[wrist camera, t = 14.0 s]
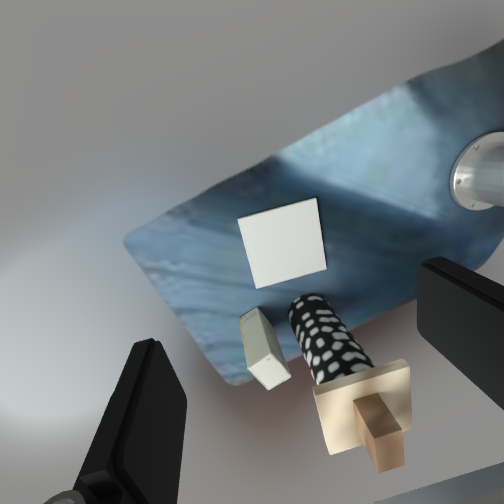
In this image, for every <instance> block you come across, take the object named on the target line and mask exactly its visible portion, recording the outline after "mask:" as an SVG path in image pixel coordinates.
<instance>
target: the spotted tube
mask: <svg viewBox="0 0 504 504" xmlns="http://www.w3.org/2000/svg"><path fill="white" fill-rule="evenodd" d="M288 320H289V322H290V325H291V327H292V329H293V332H294V334H295V336H296V339H297V341H298V343H299V346H300V348H301V350H302V353H303V355H304V357H305V359H306V361H307V364H308V366H309V369H310V371H311V373H312V376H313V378H314V380H315V383H316V385H319V384H323V383H326V382H329V381H332V380H335V379H338V378H342V377H345V376H348V375H351V374H354V373H358V372H361V371H364V370H367V369H370V368H373V367H376V366H375V365H374V363H373V362H372V361H371V360H370V358H369V357H368V355H367V354H366V353H365V351H364V350H363V349H362V348H361V346H360V345H359V343H358V342H357V341H356V339H355V338H354V336H353V335H352V334H351V332H350V331H349V330H348V328H347V327H346V326H345V324H344V323H343V322H342V320H341V319H340V318H339V316H338V315H337V313H336V312H335V311H334V309H333V308H332V307H331V305H330V304H329V303H328V301H327V300H326V299H325V298H324V297H323V296H321V295H318V294H305V295H303V296H300V297H299V298H297V299H296V300H295V301H294V302H293V303H292V304H291V305H290V307H289V310H288Z"/></svg>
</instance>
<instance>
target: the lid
mask: <svg viewBox="0 0 504 504" xmlns="http://www.w3.org/2000/svg"><path fill="white" fill-rule="evenodd" d="M312 389H313V393H314V397H315V401H316V405H317V409H318V413H319V417H320V421H321V425H322V429H323V433H324V437H325V441H326V446H327V448H328V451H329V453H330V455H332V454H335V453H339V452H342V451H345V450H348V449H351V448H354V447H357V446H360V445H363V444H364V446H365V448H366V450H367V452H368V454H369V456H370V458H371V460H372V462H373V463H374V466H375V468H376V470H377V472H378V473H381V472H384V471H387V470H390V469H393V468H397V467H400V466H403V465H404V464H405V462H404V448H403V432H404V431H407V430H410V429H412V410H411V388H410V366H409V365H408V364H407V363H406V362H405V360H404V359H403V358H402V359H399V360H396V361H393V362H390V363H386V364H383V365H380V366H377V367H373V368H370V369H367V370H364V371H361V372H358V373H354V374H351V375H348V376H345V377H342V378H338V379H335V380H332V381H329V382H326V383H323V384H319V385H316V386H313V387H312Z"/></svg>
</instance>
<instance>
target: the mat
mask: <svg viewBox="0 0 504 504" xmlns="http://www.w3.org/2000/svg"><path fill="white" fill-rule="evenodd" d="M238 223H239V227H240V230H241V234H242V238H243V241H244V245H245V249H246V252H247V256H248V260H249V263H250V267H251V271H252V274H253V278H254V282H255V286H256V289H257V288H261V287H264V286H268V285H271V284H275V283H279V282H282V281H286V280H289V279H293V278H296V277H300V276H303V275H307V274H310V273H314V272H318V271H321V270H325V269H326V262H325V255H324V248H323V242H322V235H321V228H320V221H319V214H318V208H317V201H316V198H311V199H308V200H304V201H300V202H297V203H293V204H289V205H286V206H282V207H278V208H275V209H271V210H267V211H264V212H260V213H256V214H253V215H249V216H245V217H242V218H238Z"/></svg>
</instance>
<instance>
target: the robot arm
mask: <svg viewBox="0 0 504 504" xmlns="http://www.w3.org/2000/svg"><path fill="white" fill-rule="evenodd" d="M450 191H451V194H452V197H453V199H454V200H455V202H456V203H457V204H458V205H459V206H461V207H463V208H466V209H470V210H484V209H487V208H490V207H492V206H494V205H497V206H502V207H504V132H492V133H488V134H485V135H482V136H480V137H478V138H477V139H475V140H474V141H472V142H471V143H470V144H469V145H468V146H467V147H466V148H465V149H464V150H463V151H462V153H461V154H460V155H459V157H458V159H457V160H456V162H455V164H454V167H453V169H452V173H451V176H450ZM417 328H418V331H419V333H420V334H421V336H422V337H423V338H424V339H426V340H427V341H428V342H429V343H430V344H431V345H432V346H433V347H434V348H435V349H437V350H438V351H439V352H440V353H441V354H442V355H443V356H444V357H445V358H447V359H448V360H449V361H450V362H451V363H452V364H453V365H454V366H455V367H456V368H458V369H459V370H460V371H461V372H462V373H463V374H464V375H465V376H466V377H468V378H469V379H470V380H471V381H472V382H473V383H474V384H475V385H476V386H478V387H479V388H480V389H481V390H482V391H483V392H484V393H485V394H486V395H488V397H490V398H491V399H492V400H493V401H494V402H495V403H496V404H497V405H498V406H500V407H501V408H502V409H503V410H504V286H503V285H501V284H499V283H496V282H494V281H492V280H490V279H488V278H486V277H484V276H482V275H480V274H477V273H476V272H473V271H471V270H469V269H467V268H465V267H463V266H461V265H459V264H457V263H455V262H452V261H450V260H448V259H446V258H444V257H441V256H439V257H435V258H431V259H428V260H424V261H422V262H421V264H420V266H419V267H418V269H417ZM186 412H187V398H186V394H185V392H184V390H183V388H182V386H181V384H180V382H179V380H178V377H177V376H176V373H175V371H174V369H173V367H172V365H171V363H170V361H169V359H168V357H167V355H166V352H165V350H164V348H163V346H162V344H161V342H160V341H155V340H154V339H153V338H150V339H147V340H143V341H139V342H136V343H134V345H133V347H132V349H131V352H130V354H129V357H128V359H127V361H126V364H125V366H124V369H123V371H122V374H121V376H120V378H119V381H118V383H117V386H116V388H115V391H114V392H113V394H112V396H111V398H110V400H109V403H108V405H107V407H106V410H105V412H104V415H103V417H102V419H101V422H100V424H99V427H98V429H97V432H96V434H95V436H94V439H93V441H92V444H91V446H90V448H89V451H88V453H87V456H86V458H85V461H84V463H83V465H82V468H81V470H80V472H79V475H78V477H77V480H76V482H75V484H74V487H73V489H72V490H68V491H63V492H61V493H59V494H57V495H55V496H53V497H51V498H50V499H49V500H47V501H46V502H45V503H43V504H177V498H178V497H177V496H178V487H179V479H180V468H181V459H182V450H183V440H184V430H185V421H186ZM371 504H504V462H503V463H499V464H496V465H493V466H490V467H486V468H483V469H480V470H476V471H473V472H470V473H467V474H464V475H460V476H457V477H454V478H451V479H448V480H445V481H442V482H438V483H435V484H432V485H428V486H425V487H422V488H419V489H416V490H412V491H409V492H406V493H403V494H400V495H397V496H394V497H390V498H387V499H384V500H381V501H377V502H374V503H371Z"/></svg>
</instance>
